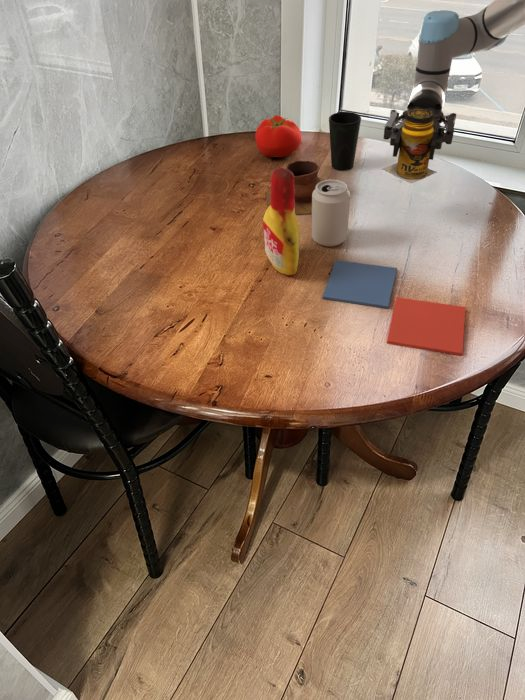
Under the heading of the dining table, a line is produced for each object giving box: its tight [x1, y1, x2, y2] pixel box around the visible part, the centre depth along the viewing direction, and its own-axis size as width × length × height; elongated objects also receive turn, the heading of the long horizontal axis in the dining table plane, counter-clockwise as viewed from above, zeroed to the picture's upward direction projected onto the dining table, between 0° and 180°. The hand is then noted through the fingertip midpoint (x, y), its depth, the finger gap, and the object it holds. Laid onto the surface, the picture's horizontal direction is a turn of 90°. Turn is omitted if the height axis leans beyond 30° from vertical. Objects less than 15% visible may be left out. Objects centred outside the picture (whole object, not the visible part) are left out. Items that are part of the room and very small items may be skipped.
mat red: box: [386, 296, 467, 356], centre depth 92 cm, size 12×12×1 cm
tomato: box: [254, 115, 303, 159], centre depth 142 cm, size 13×12×8 cm
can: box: [311, 179, 351, 248], centre depth 109 cm, size 8×8×12 cm
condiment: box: [381, 109, 437, 184], centre depth 106 cm, size 7×8×12 cm
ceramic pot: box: [264, 160, 325, 215], centre depth 125 cm, size 18×18×7 cm
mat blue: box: [321, 259, 398, 310], centre depth 102 cm, size 12×12×1 cm
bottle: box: [262, 167, 301, 276], centre depth 101 cm, size 12×6×20 cm, turn 12°
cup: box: [328, 111, 362, 172], centre depth 133 cm, size 8×8×12 cm
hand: (413, 151), depth 103 cm, fingers closed on condiment, 6 cm apart
